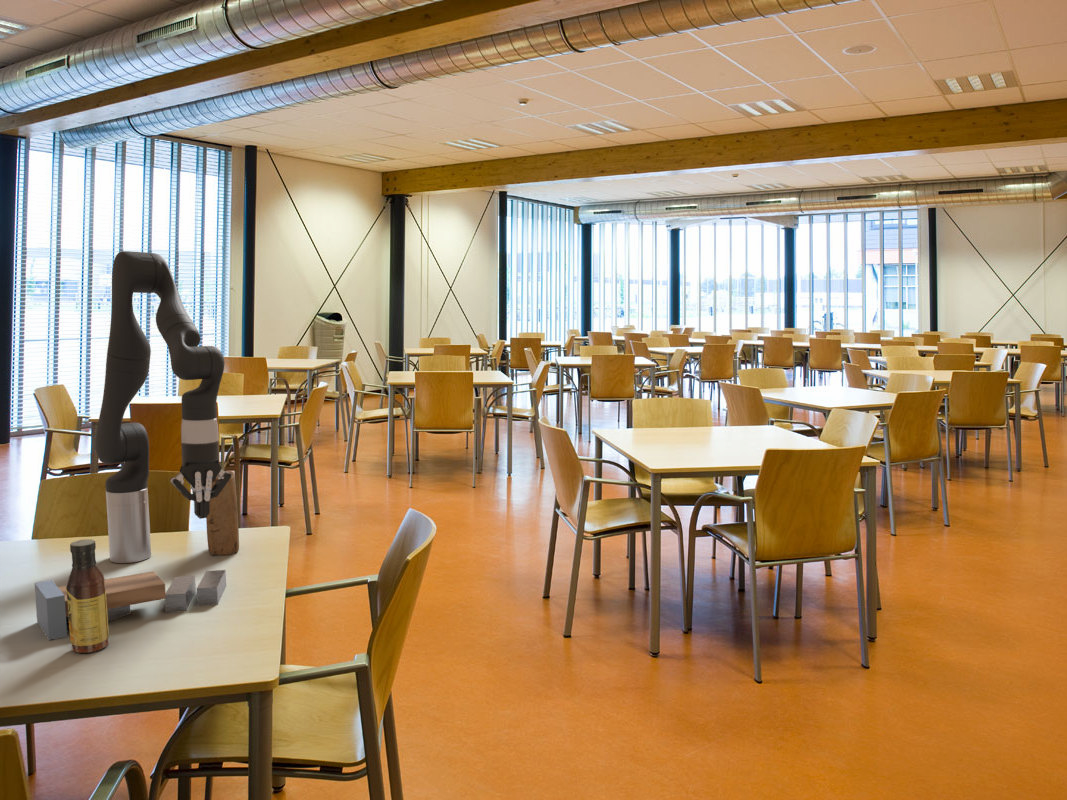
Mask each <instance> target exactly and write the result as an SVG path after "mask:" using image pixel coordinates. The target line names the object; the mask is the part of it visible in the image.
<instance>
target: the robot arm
mask: <svg viewBox="0 0 1067 800" xmlns="http://www.w3.org/2000/svg"><path fill="white" fill-rule="evenodd" d="M134 293H137V294H139V293H140V294H156V295H157V296H158V298H159V299H160V302H159V304H158V308H157V310H156V315H155V325H156V327H157V330H158V332H159V334H160V336H161V337H162V338H163V340H164V341H165V343H166V345H167V349H168V354H169V358H170V366H171V371H172V373H173V374H174V375H175V376H176V377H177V378H179V379H180V380H183V381H193V380H194V381H195V380H201V381H200V383H199V385H198V386H197V387H196V388H194V389H191V390H188V391H186V392H184V393H183V394H182V396H181V428H180V435H181V436H180V438H181V439H180V440H181V442H180V443H181V466H180V468H179V473H178V474H176V475H175V476H174V477H171V478H170V479H169V482H170V483H171V484H172V485H173V486H174V488H176V489H177V490H178V491H179V493H180V494H181V495H182V496H183V497H184V498H185V499H187V500H188V501H189V502H190V501H193V509H194V510H193V511H194V515H195V516H196V517H197V518H198V519H199V520H201V519H206V518H207V515H209V513H210V503H209V502H210V499H212V498H214V497H217V496H218V495H219V494H220V492H221V491H222V489H223V488H224V487H225V485H226V484H227V482H228V481H229V480H230V478H231V474H230V473H228V472H226V471H227V470H224V469H222V465H221V463H220V443H219V441H220V440H219V438H220V433H219V424H218V409H217V407H218V406H217V404H218V403H217V400H218V394H219V390H220V385H221V381H222V379H223V374H224V370H225V358H224V355H223V353H222V351H221V350H220V349H219V348H218V347H216V346H214V345H204V346H203V345H200V343H201V335H200V334H201V333H200V332H199V330H198V328H197V326H196V325H195V323H194V322H193V320H192V319H191V317H190V315H189V314H188V312H187V310H186V308H185V307H184V304H183V302H182V299H181V296H180V293H179V291H178V287H177V284H176V282H175V279H174V276H173V274H172V271H171V269H170V267H169V264H168V263H167V261H166V259H165V258H164V257H163V256H162V255H160V254H158V253H153V252H142V251H131V250H129V251H128V250H125V251H122V250H121V251H120V252H118V253H117V254H116V255H115V257H114V260H113V263H112V273H111V312H110V313H111V318H110V325H109V326H110V327H109V336H108V337H109V338H108V342H107V343H108V344H107V352H106V361H105V373H104V374H105V375H104V385H103V395H102V396H103V397H102V402H101V408H100V412H99V416H98V421H97V425H96V431H95V438H94V440H95V441H94V447H95V453H96V457H97V459H98V460H99V461H100V462H101V463H102V464H106V465H112V464H120V463H124V464H123V465H122V467H121V469H120V470H118V471H117V472H116V473H114V474H113V475H111V476H109V477H107V479H106V480H105V485H104V486H105V498H106V499H105V500H106V514H107V515H106V516H107V517H106V518H107V532H108V534H107V535H108V548H109V550H108V551H109V561H110V562H111V563H113V564H129V563H131V564H132V563H137V562H141V561H145V560H147V559H149V558H151V557H152V550H151V549H152V547H151V525H150V511H149V510H150V507H149V493H148V491H149V490H148V488H149V487H148V479H149V477H150V476H149V475H150V442H149V441H150V440H149V439H150V438H149V436H148V432H147V429H146V428H145V426H144V425H143V424H141V423H140V422H127V423H123V420H124V416H125V413H126V410H127V408H128V406H129V404H130V403H131V402H132V400H133V398H135V396H136V395H137V394H138V392H139V391H140V389H142V387H143V386H144V384H145V382H146V380H147V378H148V376H149V372H150V371H149V370H150V361H151V354H152V351H151V345H150V342H149V340H148V338H147V336H146V335H145V332H144V331H143V329H142V328H141V326H140V325H139V322H138V320H137V318H136V315H135V313H134V306H133V305H134V304H133V297H134V296H133V295H134ZM199 345H200V346H199ZM218 474H219V475H218ZM217 475H218V480H217V482H216V483H215V484H214V486H213V487H212V483H213V481H214V480H215V478H216V477H217ZM184 479H185V481H186V482H187V483H188V484H189V485H190V488H191V490H192V491H191V492H190V491H189V490H188V488H187V487H185V486H184V484H185V481H184ZM211 487H212V489H211Z"/></svg>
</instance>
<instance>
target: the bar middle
mask: <svg viewBox="0 0 1067 800" xmlns="http://www.w3.org/2000/svg"><path fill="white" fill-rule="evenodd" d="M196 585H197V583H196V575H186V576H185V575H184V576H182V575H181V576H175V577H174V578H173V579H172V582H171V584H170V585H169V587H168V588H167V590H166V591H165V593H166V599H164V608H165V609H164V611H165V614H168V613H169V614H170V613H182V612H184V611H185V612H188V609H189V607H190V605H191V603H192V601H193V599H194V598H195V595H196V594H197V587H196ZM185 612H184V613H185Z"/></svg>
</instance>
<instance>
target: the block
mask: <svg viewBox="0 0 1067 800" xmlns="http://www.w3.org/2000/svg"><path fill="white" fill-rule="evenodd" d="M225 471H226V472H228V473H230V474H231V478H230V480H229V481H228V482H227V484H226V485H225V487H224V488H223V489H222V491H221V492H220V494H219V495H218V496H217V497H214V498H212V499H210V502H209V503H210V513H209V515H207V518H205V519H206V539H207V549H208V553H209V554H211V555H212V556H213V555H214V556H226V555H229V556H230V555H231V554H232V555H233V554H234V553H237V552H239V550H240V536H239V535H240V533H239V532H240V529H239V518H238V517H239V515H238V502H237V499H238V497H237V489H236V487H237V486H236V476H235V473H234V472H233V471H231V470H225ZM218 475H219V474H218ZM218 475H217V477H216V478H215V480H214V481H213V483H212V487H213V486H214V484H215V483H216V482H217V480H218ZM212 487H211V489H212Z"/></svg>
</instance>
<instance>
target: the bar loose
mask: <svg viewBox="0 0 1067 800" xmlns="http://www.w3.org/2000/svg"><path fill="white" fill-rule="evenodd" d="M129 613H130V614H131V605H128V606H122V607H116V608H111V609H107V615H108V622H110V621H113V620H116V619H119V618H121V616H122V617H124V616H127V615H130V614H129ZM118 617H119V618H118ZM66 625H67V632H69V631H70V630H69V618H68V616H67V617H66Z"/></svg>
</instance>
